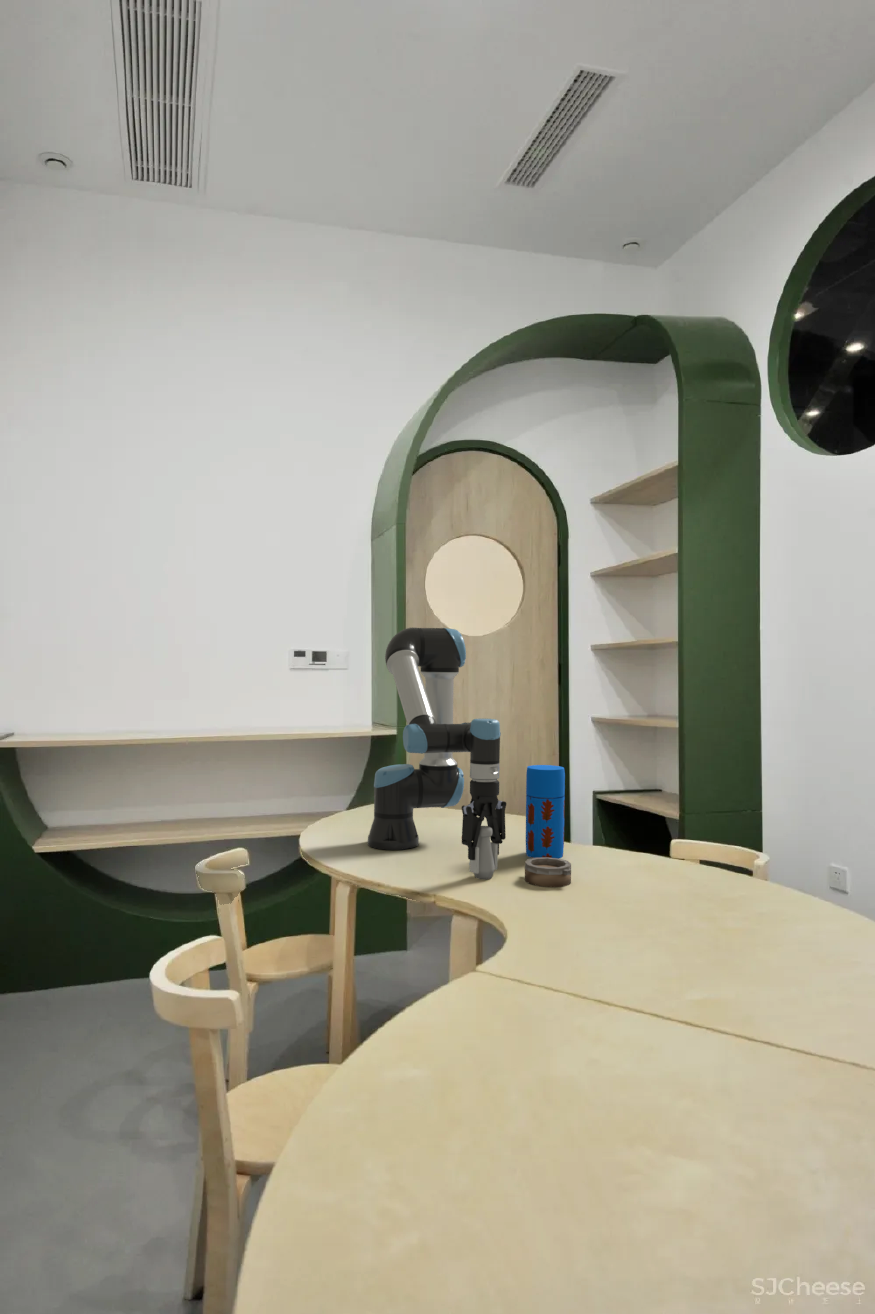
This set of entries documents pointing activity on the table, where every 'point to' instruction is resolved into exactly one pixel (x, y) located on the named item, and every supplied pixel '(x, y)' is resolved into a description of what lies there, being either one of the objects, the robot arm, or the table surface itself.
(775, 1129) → the table surface
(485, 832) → the salt shaker
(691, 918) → the table surface
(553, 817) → the thermos
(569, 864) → the brown bowl with handles
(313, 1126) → the table surface
